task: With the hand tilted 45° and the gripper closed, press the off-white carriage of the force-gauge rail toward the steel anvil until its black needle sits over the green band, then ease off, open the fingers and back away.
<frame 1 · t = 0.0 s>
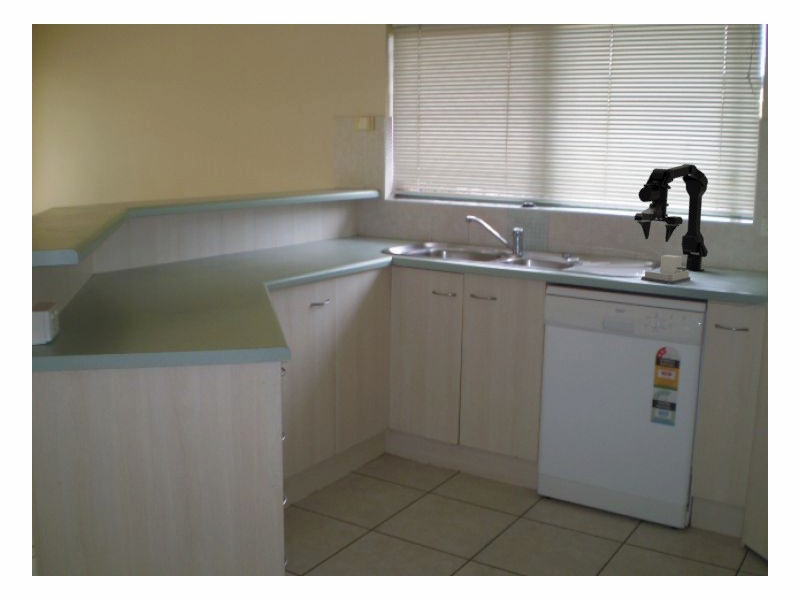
hand: (656, 240, 353), 14 cm above the worktop, tool pointing down, fingers open, 9 cm apart
gauge carriage: (674, 266, 349), point 5 cm above the worktop, slide at 0.0 cm
gauge base: (669, 278, 351), on the worktop
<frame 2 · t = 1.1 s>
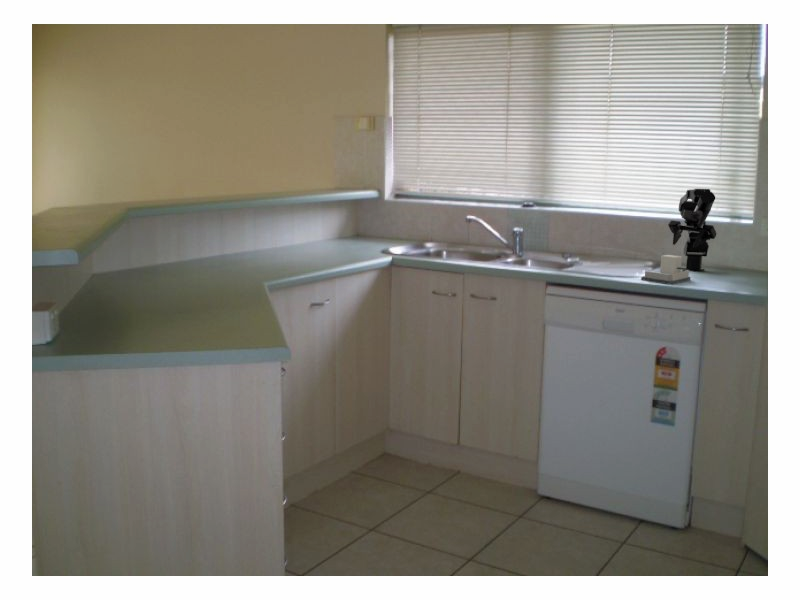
hand: (683, 245, 356), 12 cm above the worktop, tool tilted 45°, fingers open, 8 cm apart
nothing on the worktop moved.
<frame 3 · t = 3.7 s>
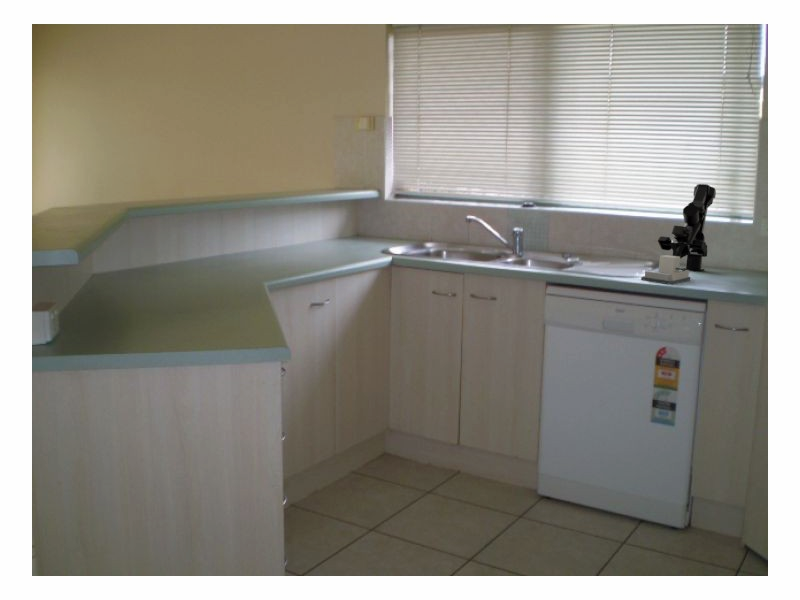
hand: (673, 261, 351), 7 cm above the worktop, tool tilted 45°, fingers closed, pressing on gauge carriage
gauge carriage: (672, 266, 348), point 5 cm above the worktop, slide at 1.3 cm, touching gripper
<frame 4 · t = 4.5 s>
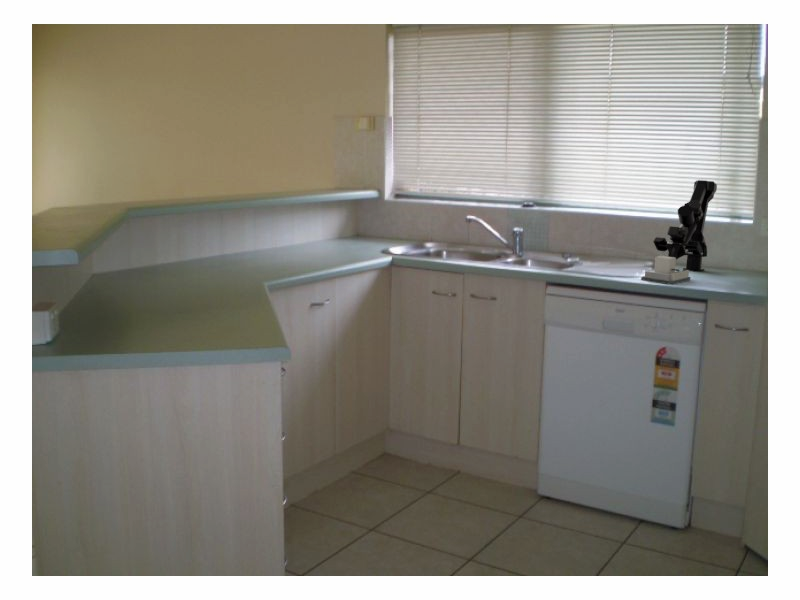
hand: (668, 262, 348), 7 cm above the worktop, tool tilted 45°, fingers closed, pressing on gauge carriage
gauge carriage: (668, 267, 346), point 5 cm above the worktop, slide at 4.7 cm, touching gripper
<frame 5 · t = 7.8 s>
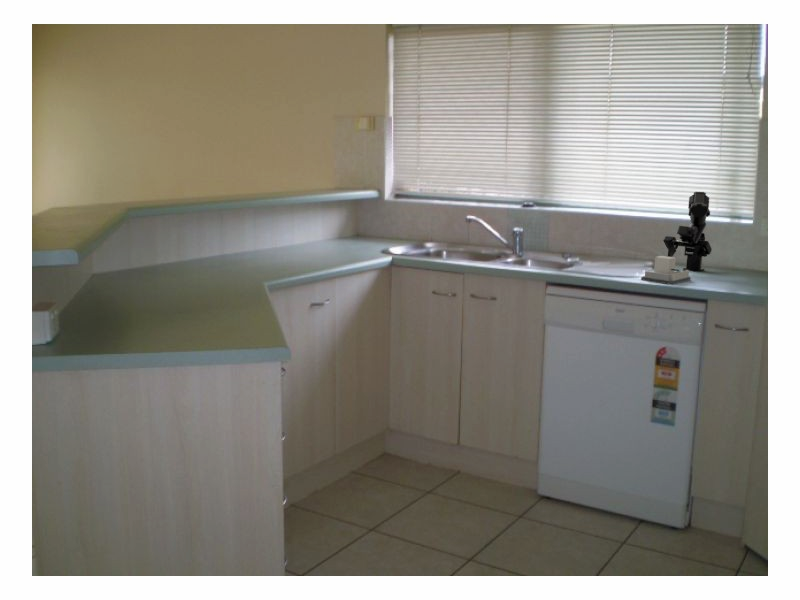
hand: (678, 261, 355), 6 cm above the worktop, tool tilted 45°, fingers open, 9 cm apart
gauge carriage: (668, 267, 346), point 5 cm above the worktop, slide at 4.8 cm
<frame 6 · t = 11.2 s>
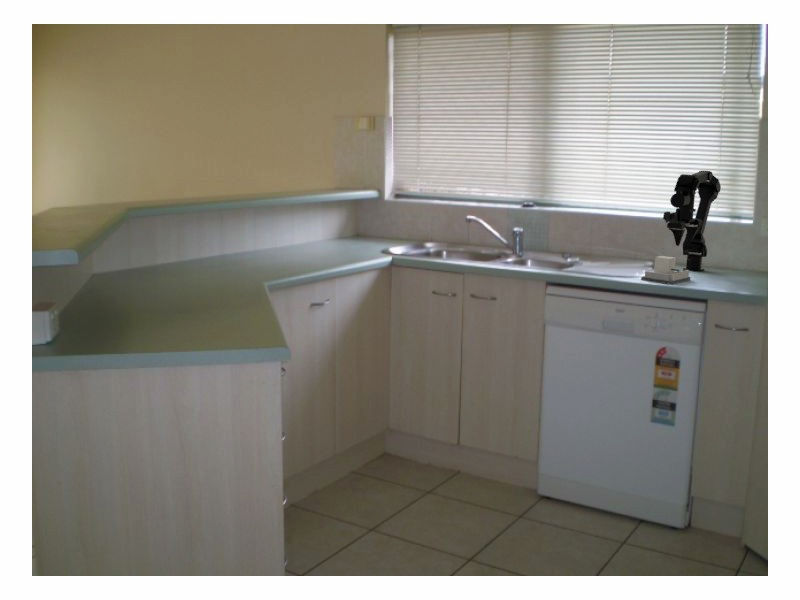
hand: (683, 244, 360), 12 cm above the worktop, tool pointing down, fingers open, 9 cm apart
nothing on the worktop moved.
at the end: gauge carriage slide at 4.8 cm; the gripper is holding nothing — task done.
